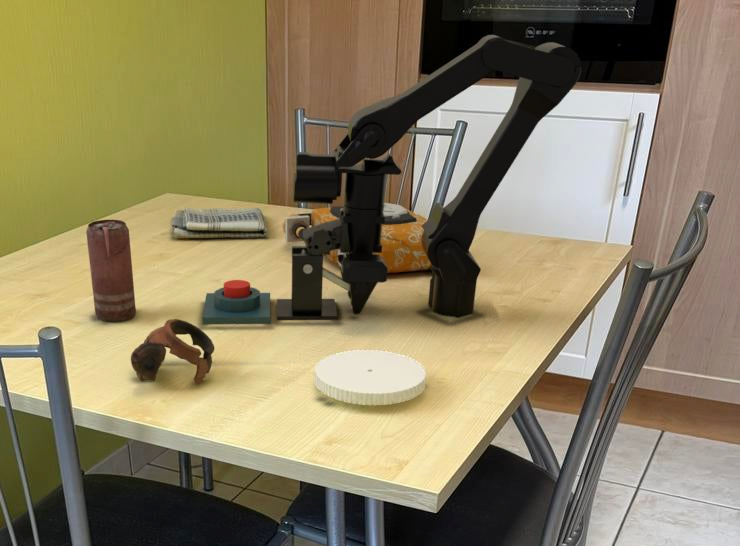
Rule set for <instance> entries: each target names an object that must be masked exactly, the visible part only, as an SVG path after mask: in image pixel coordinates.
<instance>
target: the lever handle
mask: <svg viewBox="0 0 740 546" xmlns="http://www.w3.org/2000/svg"><path fill="white" fill-rule="evenodd" d="M300 254H308V252H307V251H305V250H302V252H301V253H300ZM323 278H324V279H326V280H328V281H330V282H331V283H333V284H335V285H336V286H338V287H340V288H342V289H344V290H345V291H347V297H348V299H349V300H350V301H351V292H350V283H349V282H348V281H344V280H342V276H339V275H338V274H336V273H334V272H333V271H331V270H329V269H327V268H325V267H323Z"/></svg>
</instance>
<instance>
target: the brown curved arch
mask: <svg viewBox="0 0 740 546" xmlns="http://www.w3.org/2000/svg"><path fill="white" fill-rule="evenodd" d="M177 335H180V336H181V335H182V336H183V335H184V336H185V335H190V337H191V338H190V339H191V341H192V345H189V344H188V343H187V342H185V341H184V340H182V339H181V338H180V337H178V336H177ZM194 346H198V347H199V348H197V347H194ZM166 348H168V349H169V354H171V355H173V356H175V357H177V358H178V359H180V360H185V361H186V362H188V363H190V364H192V365H195V366H196V372H195V375H194V377H193V381H194V383H196V384H202V383H203V382H204V379H205V378H206V377H207V374H209V373H210V372H211V369H212V365H213V358H212V355H213V353H214V352H215V345H214V343H213V341H212V339H211V337H209V335H207V334H206V332H204V330H202V329H200V328H199V327H198V326H196V325H194V324H193V323H190V322H189V321H186V320H182V319H178V318H171V319H167V320H166V321H165V322H164V325H162V326H160V327H158V328H155V329H154V330H151V332H149V334H148V335H147V336H146V338H145V339H144V341H143V342H142V343H141V344H139V346H137V347H136V348H134V350H133V351H132V353H131V355H130V363H131V367H132V370H133V371H134V372H135V374H136V376H137V378H138V380H139V381H143V379H144V380H145V381H148V382H155V381H156V380H157V376H158V375H157V374H158V373H159V369H160V367H161V366H162V364H163V362H164V361H165V359H166V356H167V349H166ZM201 350H202V351H203V353H202V352H201ZM201 355H202V357H200V356H201Z"/></svg>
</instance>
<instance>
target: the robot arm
mask: <svg viewBox="0 0 740 546" xmlns="http://www.w3.org/2000/svg"><path fill="white" fill-rule="evenodd" d="M494 72H501V73H505V74H508V75H511V76H515V77H518V80H517V84H516V88H515V92H514V95H513V99H512V102H511V104H510V107H509V109H508V110H507V112H506V114H505V115H504V116H503V118H502V120H501V122H500V123H499V125H498V127H497V128H496V130H495V131H494V133H493V135H492V137H490V139H489V141H488V143H487V145H486V146H485V148H484V150H483V151H482V153H481V154H480V156H479V158H478V160H477V161H476V163H475V164H474V166H473V168H472V169H471V171H470V172H469V174H468V176H467V178H466V179H465V181H464V183H463V184H462V186H461V187H460V189H459V191H458V193H457V194H456V196H455V197H454V198H453V199H452V200H451V201H450V202H449V203H447V205H446V204H445V206H443V205H442V204H441V203H439V202H436V203H435V204H434V207H433V208H432V211H431V214H430V216H429V217H428V219H427V221H426V222H425V223H424V224H423V225H422V228H423V229H424V232H423V234H422V238H421V241H422V246H423V249H424V251H425V253H426V255H427V257H428V259H429V261H430V262H431V264H432V265H433V266H434V267H436V268H438V269H437V270H433V271H432V272H431V279H430V280H429V289H428V292H429V293H428V302H427V305H428V306H429V308H431V311H432V312H433V313H435V314H437V315H439V316H444V317H453V318H457V319H459V318H463V317H466V316H469V315H473V314H474V308H475V299H476V291H477V283H478V278H479V275H480V274H481V271H482V268H481V267H480V265H479V263H478V262H477V260H476V259H475V257H474V256H473V254H472V253H471V251H470V249H471V246H472V244H473V241H474V239H475V236H476V232H477V230H478V229H477V228H478V224H479V220H480V217H481V216H482V213H483V211H484V210H485V209H486V207H487V205H488V204H489V202H490V200H491V199H492V197H493V195H494V194H495V192H496V191H497V189H498V188H499V186H500V185H501V183H502V181H503V180H504V178H505V176H506V175H507V174H508V172H509V170H510V169H511V167H512V165H513V164H514V162H515V160H516V159H517V157H518V156H519V154H520V153H521V152H522V150H523V148H524V146H525V144H526V143H527V141H528V139H529V138H530V137H531V135H532V134H533V132H534V130H535V129H536V127H537V125H538V124H539V123H540V121H542V119H544V118H545V117H546V116H547V115H548V114H550V113H551V112H552V111H553V110H554V109H555V108H556V107H558V105H560V104H561V102H562V101H563V100H564V98H566V97H567V95H568V94H569V93H570V92H571V90H572V89H573V88H574V87H575V86H576V84H577V83H578V81H579V79H580V77H581V73H582V64H581V59H580V56H579V55H578V53H577V52H576V51H575V50H574V49H572V48H571V47H569V46H565V45H563V44H559V43H557V42H545V43H542V44H540V45H537V46H532V45H529V44H525V43H522V42H521V43H520V42H517V41H512V40H508V39H505V38H503V37H501V36H499V35H495V34H487V35H485V36H483V37H482V38H481V39H480V40H478V42H477V43H475V44H474V45H472V47H470V48H469V49H467V50H465V51H464V52H463V53H461V54H460V55H458V56H456V57H455V58H453V59H452V60H450V61H449V62H447V63H446V64H444V65H442V66H441V67H439V68H438V69H437V70H435V71H433V72H432V73H431V74H428V75H427V76H426V77H425V78H423V79H422V80H420V81H418V82H417V83H416V84H414V85H412V86H411V87H410V88H408V89H406V90H405V91H403V92H401V93H398V94H396V95H393V96H391V97H387V98H385V99H381V100H379V101H376V102H374V103H372V104H370V105H367V106H365V107H363V108H361V109H359V110H357V111H356V112H355V113H353V115H352V116H351V118H350V119H349V122H348V126H347V133H346V134H345V136H344V137H343V138H342V140H340V142H339V143H338V145H336V147H335V149H334V150H333V151H332V153H330V154H329V153H311V152H307V151H297V152H296V154H295V155H296V156H295V168H294V169H295V170H294V171H295V172H294V173H293V186H292V190H293V191H292V203H293V204H306V205H307V204H309V205H312V204H313V205H333V202H334V201H337V200H338V198H341V197H342V196H341V195H342V185H343V174H346V175H345V185H344V186H345V187H344V202H343V203H344V204H343V206H344V207H343V208H342V210H340V219H336V220H333V221H328V222H325V223H322V224H319V225H316V226H313V227H311V226H310V227H309V228H308V229H305V230H304V231H303V238H304V241H305V242H304V241H303V242H304V244H305V246H306V247H307V250H308V254H309V255H320V254H323V253H326V252H329V251H332V250H335V249H336V250H340V253H343V255H337V257H338V261H339V263H340V264H341V265H342V266H341V267H340V268H339V271H340V276H341V278H342V280H344V281H348V282H349V283H350V292H351V300H350V306H351V308H352V314H354V315H361V313H362V312H363V309H364V307H365V306H366V304H367V302H368V300H369V298H370V297H371V295H372V293H373V291H374V289H375V288H376V286H377V285H378V283H385V282H386V283H387V281H388V273H387V271H388V268H387V265H386V262H385V261H384V259H383V258H382V257H381V256H380V255H373V253H382V244H381V233H382V224H384V222H385V216H384V213H383V211H384V203H385V199H386V198H385V197H386V189H387V175H393V176H399V175H401V174H402V169H401V167H400V166H399V164H398V163H396V161H395V160H394V157H393V156H392V153H387V152H388V151H389V150H391V149H392V147H393V146H395V145H396V143H398V142H399V141H400V140H401V139H402V138H404V136H405V135H406V134H407V133H408V132H409V130H410V129H411V128H412V127H413V126H414V125H415V124H417V122H419V121H420V120H421V119H423V118H424V117H425V116H427V115H429V114H430V113H432V112H433V111H435V110H437V109H438V108H439V107H441V106H442V105H445V103H447V102H449V101H451V100H452V99H453V98H455V97H456V96H458V95H459V94H461V93H463V92H464V91H466V90H467V89H469V88H470V87H472V86H473V85H475V84H477V83H478V82H480V81H481V80H483V79H484V78H486V77H488V76H489V75H490V74H492V73H494ZM386 153H387V154H386ZM385 154H386V155H385ZM383 155H385V156H384V157H383V158H381V159H379V157H382V156H383ZM360 162H361V164H360ZM323 255H324V254H323Z"/></svg>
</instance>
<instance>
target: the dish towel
mask: <svg viewBox="0 0 740 546" xmlns="http://www.w3.org/2000/svg"><path fill="white" fill-rule="evenodd" d="M170 226H171V228H172V227H173V228H174V231H173V233H174V236H173V238H174V239H217V238H235V239H236V238H238V239H240V238H241V239H242V238H246V239H248V238H251V239H252V238H253V239H254V238H264V237H267V235H268V234H269V230H268V229H267V221H266V218H265V215H264V213H263V212H262V210H261V208H259V207H251V208H250V207H249V208H199V209H196V208H195V209H194V208H189V207H185V208H184V210H183V209H176V210H175V213H174V217H173V220H172V222H171V223H170Z"/></svg>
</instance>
